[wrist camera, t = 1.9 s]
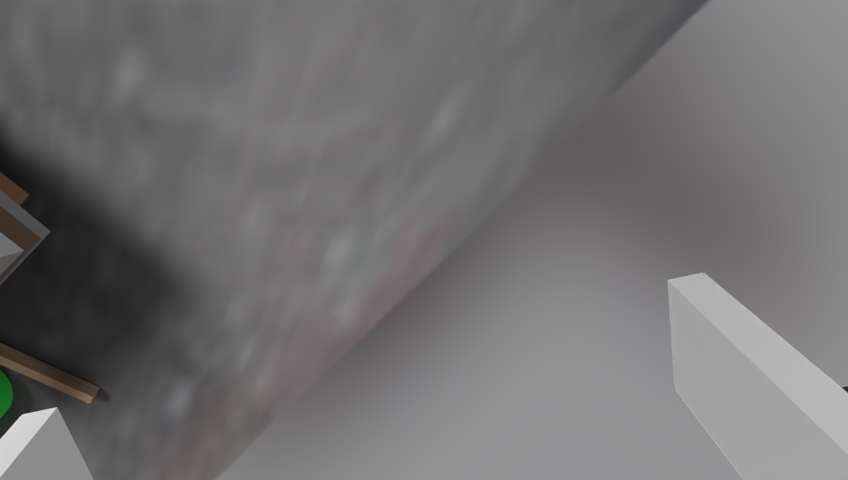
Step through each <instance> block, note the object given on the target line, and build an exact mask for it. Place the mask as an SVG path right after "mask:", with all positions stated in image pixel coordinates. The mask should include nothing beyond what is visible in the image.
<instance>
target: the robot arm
mask: <svg viewBox="0 0 848 480" xmlns="http://www.w3.org/2000/svg"><path fill="white" fill-rule="evenodd" d="M667 281H668V295H669V312H670V328H671V342H672V343H671V344H672V359H673V374H674V389H675V390H676V392H677V393H678V395H679V396H680V397H681V398H682V400H683V401H684V402H685V404H686V405H687V406H688V408H689V409H690V410H691V412H692V413H693V414H694V415H695V417H696V418H697V420H698V421H699V422H700V424H701V425H702V426H703V427H704V429H705V430H706V431H707V433H708V434H709V435H710V437H711V438H712V439H713V440H714V442H715V443H716V445H717V446H718V447H719V449H720V450H721V451H722V452H723V454H724V455H725V457H726V458H727V459H728V461H729V462H730V463H731V464H732V466H733V467H734V468H735V470H736V471H737V472H738V474H739V475H740V476H741V478H742V479H743V480H848V387H843V388H841V387H840V386H839V385H838V384H837V383H835V382H834V381H833V380H831V378H829V377H828V376H827V375H826V374H825V373H823V372H822V371H821V370H820V369H819V368H817V367H816V366H815V365H814V364H812V363H811V362H810V361H809V360H808V359H807V358H805V357H804V356H803V355H802V354H801V353H799V352H798V351H797V350H796V349H795V348H793V347H792V346H791V345H790V344H789V343H787V342H786V341H785V340H784V339H783V338H782V337H780V336H779V335H778V334H777V333H775V332H774V331H773V330H772V329H771V328H770V327H768V326H767V325H766V324H765V323H763V322H762V321H761V320H760V319H759V318H758V317H756V316H755V315H754V314H753V313H752V312H750V311H749V310H748V309H747V308H746V307H744V306H743V305H742V304H741V303H740V302H738V301H737V300H736V299H735V298H734V297H732V296H731V295H730V294H729V293H728V292H726V291H725V290H724V289H723V288H722V287H720V286H719V285H718V284H717V283H716V282H714V281H713V280H712V279H711V278H710V277H709V276H707V275H706V274H705V273H704V272H703V273H698V274H694V275H689V276H684V277H679V278H674V279H670V280H667ZM0 480H93V478H92V476H91V474H90V472H89V470H88V468H87V466H86V464H85V462H84V460H83V458H82V456H81V454H80V452H79V450H78V448H77V446H76V444H75V442H74V440H73V438H72V436H71V434H70V432H69V430H68V428H67V426H66V424H65V422H64V420H63V418H62V416H61V414H60V412H59V410H58V408H57V407H56V408H51V409H46V410H41V411H36V412H32V413H27V414H22V415H21V416H20V417H19V418H18V420H17V421H16V422H15V423H14V424H13V425H12V426H11V428H10V429H9V430H8V431H7V432H6V433H5V434H4V435H3V437H2V438H1V439H0Z"/></svg>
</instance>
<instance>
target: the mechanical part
mask: <svg viewBox="0 0 848 480" xmlns="http://www.w3.org/2000/svg"><path fill="white" fill-rule="evenodd" d="M12 401H13V389H12V386H11V383H10V381H9V379H8V378H7V376H6V375H5V374H4V373H3V372H2V371H1V370H0V419H1V417H2V416H3V415H4V414H5V413H6V412H7V410H8V409H9V408H10V406H11V404H12Z"/></svg>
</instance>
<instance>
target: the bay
mask: <svg viewBox="0 0 848 480" xmlns="http://www.w3.org/2000/svg"><path fill="white" fill-rule="evenodd" d="M0 365H2V366H5V367H7V368H9V369H12V370H14V371H16V372H18V373H21V374H23V375H25V376H27V377H30V378H32V379H34V380H36V381H39V382H41V383H43V384H45V385H48V386H50V387H52V388H55V389H57V390H59V391H61V392H64V393H66V394H68V395H70V396H73V397H75V398H77V399H79V400H82V401H84V402H86V403H88V404H90V402H91V401H92V400H93V398H94V397H95V396H96V394H97V392H98V391H99V389H100V387H97V386H95V385H93V384H91V383H88V382H86V381H84V380H82V379H80V378H77V377H75V376H73V375H71V374H68V373H66V372H64V371H62V370H60V369H57V368H55V367H53V366H51V365H48V364H46V363H44V362H42V361H40V360H37V359H35V358H33V357H31V356H29V355H26V354H24V353H22V352H20V351H17V350H15V349H13V348H11V347H9V346H6V345H4V344H2V343H0Z"/></svg>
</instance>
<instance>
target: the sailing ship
mask: <svg viewBox="0 0 848 480" xmlns="http://www.w3.org/2000/svg"><path fill="white" fill-rule="evenodd" d="M28 196H29V194H28V193H26V192H25V191H24V190H23V189H21V188H20V187H19V186H17V185H16V184H15V183H14V182H12V181H11V180H10V179H8V178H7V177H6V176H5V175H3V174H2V173H1V172H0V285H1V284H2V283H3V282H4V281H5V280H6V279H7V278H8V276H9V275H10V274H11V273H12V272H13V271H14V270H15V269H16V268H17V267H18V266H19V265H20V264H21V263H22V262H23V261H24V260H25V259H26V258H27V256H28V255H29V254H30V253H31V252H32V251H33V250H34V249H35V248H36V247H37V246H38V245H39V244H40V243H41V242H42V241H43V240H44V239H45V237H46V236H47V235H48V234H49V233H50V232H51V231H50V230H48V229H47V228H46V227H45V226H43V225H42V224H41V223H40V222H39V221H37V220H36V219H35V218H34V217H33V216H31V215H30V214H29V213H28V212H26V211H25V210H24V209H23V208H22V207H20V205H21V204H22V203H23V202H24V201H25V200H26V198H27V197H28Z"/></svg>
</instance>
